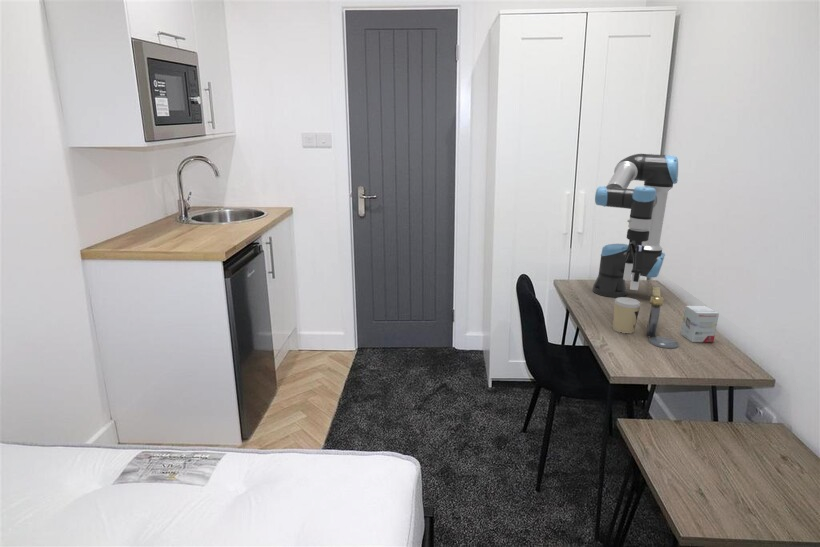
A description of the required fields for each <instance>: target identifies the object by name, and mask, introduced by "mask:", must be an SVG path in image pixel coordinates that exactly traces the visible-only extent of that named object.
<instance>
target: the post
mask: <svg viewBox="0 0 820 547" xmlns="http://www.w3.org/2000/svg"><path fill="white" fill-rule="evenodd" d="M661 307H662V306H655V305H652V304H650V311H649V317H648V323H647V329H646V334H645V335H646V337H648V336H650V337H653V336H657V335H656V334H657V329H658V323H659V317H660V313H661V312H660V311H661ZM650 337H649V338H650Z"/></svg>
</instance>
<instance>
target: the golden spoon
mask: <svg viewBox="0 0 820 547" xmlns="http://www.w3.org/2000/svg"><path fill="white" fill-rule="evenodd" d="M651 292H652V295H651V296H650V301H649V304H650V305H651V304H652V305H655V306H661V307H662V306H663V304H664V300H665V299H664V297H663V296H661V287H660V286H652V291H651Z"/></svg>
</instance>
